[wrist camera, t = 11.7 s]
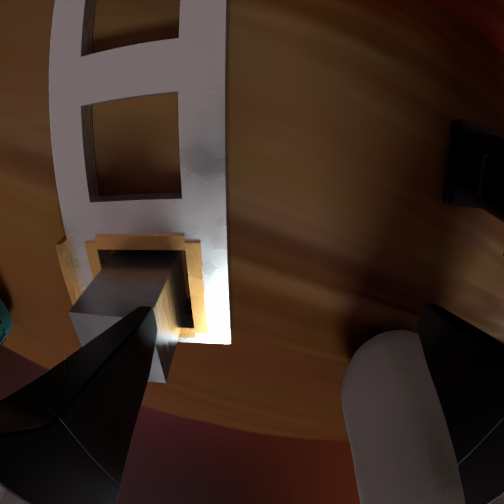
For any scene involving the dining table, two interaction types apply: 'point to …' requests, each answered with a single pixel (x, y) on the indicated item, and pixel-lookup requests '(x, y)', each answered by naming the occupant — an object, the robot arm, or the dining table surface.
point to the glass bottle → (398, 425)
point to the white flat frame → (190, 143)
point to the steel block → (136, 300)
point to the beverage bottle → (4, 322)
